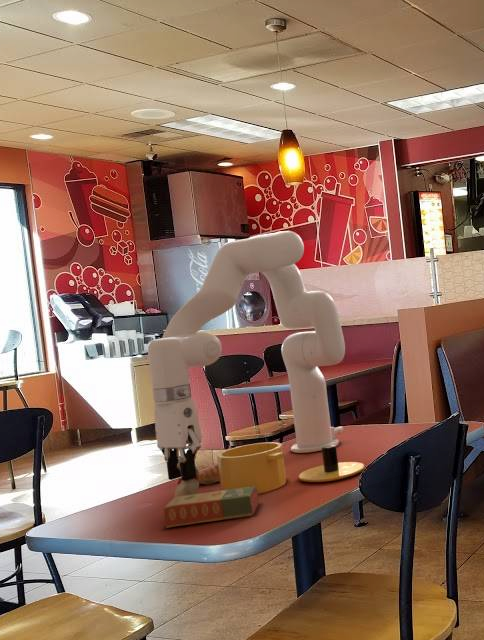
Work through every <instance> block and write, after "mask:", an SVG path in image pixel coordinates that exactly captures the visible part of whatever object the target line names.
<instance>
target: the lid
mask: <svg viewBox="0 0 484 640" xmlns="http://www.w3.org/2000/svg"><path fill="white" fill-rule="evenodd" d="M337 451H338V450H337V446H336V445H326V446H323V447H322V450H321V454H322V455H321V456H322V463H323V464H322V465H318V466H314V467H311V468H308V469H306V470H303V471H302V472H300V473H299V474H298V479H299V480H300V481H303V482H309V483H325V482H333V481H334V482H335V481H338V480H339V481H340V480H343V479H346V478H349V477H351V476H354V475H357V474H359V473H361V472H362V471H364V469H365V465H364V463H362V462H357V461H342V462H341V461H340V462H339V459H338V452H337Z"/></svg>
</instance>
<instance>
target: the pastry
mask: <svg viewBox="0 0 484 640" xmlns="http://www.w3.org/2000/svg"><path fill="white" fill-rule="evenodd" d="M198 481H199V484H200V485H211V484H216V483H220V475H219V467H218V463H217V464H215V465H213V466H210V467H209V468H207V469H205V470H203V471H202V472H199V477H198Z"/></svg>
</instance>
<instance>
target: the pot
mask: <svg viewBox="0 0 484 640" xmlns="http://www.w3.org/2000/svg"><path fill="white" fill-rule="evenodd" d="M216 457H217V464H218V467H219V475H220V482H219V483H220V491H222V490H230V489H237V488H244V487H251V486H256V487H257V492H258V495H261V494H264V493H265V494H266V493H268V492H271V491H274V490H277V489H279V488H282V487H283V486H284V485H285V484H286V483H287V476H286V466H285V453H284V451H283V444H282V443H280V442H272V441H269V442H257V443H250V444H244V445H239V446H235V447H232V448H227V449H225V450H223V451H220V452H218V454H217V455H216Z"/></svg>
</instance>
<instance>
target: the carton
mask: <svg viewBox="0 0 484 640" xmlns="http://www.w3.org/2000/svg"><path fill="white" fill-rule="evenodd" d="M259 503H260V502H259V494H258V492H257V487H256V486H251V487H244V488H237V489H230V490H222V491H221V490H217V491H216V490H215V491H208V492H202V493H201V492H200V493H199V494H193V495H186V496H179V497H175V498H174V497H173V498H172V499H171V500H170V501H169V502H168V503H167V504H166V505H165V507H163V515H164V524H165V528H166V529H167V528H175V527H180V526H181V527H182V526H186V525H194V524H201V523H210V522H211V523H212V522H219V521H227V520H234V519H241V518H250V517H252V516H254V514H255V511H256V510H257V508H258V506H259Z"/></svg>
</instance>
